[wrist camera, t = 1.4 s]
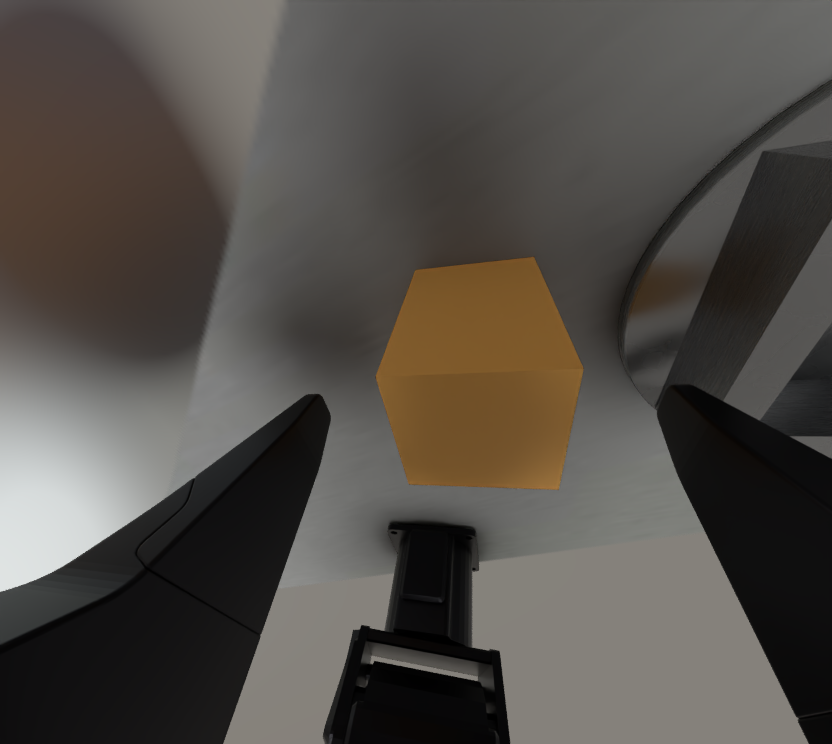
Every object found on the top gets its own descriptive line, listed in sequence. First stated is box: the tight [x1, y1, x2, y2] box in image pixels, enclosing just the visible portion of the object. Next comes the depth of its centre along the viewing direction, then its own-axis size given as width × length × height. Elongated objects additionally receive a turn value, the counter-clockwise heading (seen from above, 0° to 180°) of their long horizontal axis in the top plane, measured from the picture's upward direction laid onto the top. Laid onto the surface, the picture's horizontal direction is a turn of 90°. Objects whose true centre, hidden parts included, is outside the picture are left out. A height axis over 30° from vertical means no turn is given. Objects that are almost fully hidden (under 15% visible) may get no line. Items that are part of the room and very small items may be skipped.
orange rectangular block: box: [376, 257, 584, 490], centre depth 10 cm, size 4×4×6 cm
